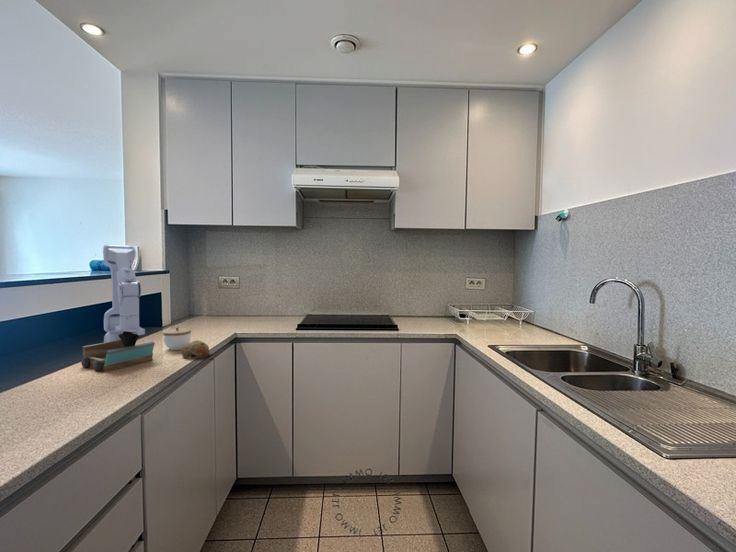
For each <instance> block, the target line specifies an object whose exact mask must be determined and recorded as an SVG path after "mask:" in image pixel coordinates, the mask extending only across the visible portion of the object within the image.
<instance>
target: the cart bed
mask: <svg viewBox="0 0 736 552" xmlns="http://www.w3.org/2000/svg"><path fill="white" fill-rule="evenodd" d="M119 348H124V345H123V342H122V340H116V341H110V342H105V343H104V342H100V343H95V344H89V345H84V346H82V358H81V361H80V362H81V363H80V364H81V366H82V368H84V369H87V368H90V369H94V370H95V372H100V371H101V372H105V373H106V372H111V371H115V370H118V369H123V368H126V367H130V366H133V365H137V364H143V363H146V362H150V361H153V356H154V353H153V352H152V355H148V356H143V357H139V358H135V359H131V360H126V361H122V362H118V363H114V364H110V365H105V364H104V363H105V359H106V354H107V351H109V350H114V349H119Z"/></svg>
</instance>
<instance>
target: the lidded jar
mask: <svg viewBox="0 0 736 552" xmlns="http://www.w3.org/2000/svg"><path fill="white" fill-rule="evenodd" d="M162 335H163V336H162V337H163V343H164V345H165V347H166V348H168V349H169V350H170V351H178V350H180V351H181V350H182V349H183V347H184V346H185V345H186V344H188V343H190V342H191V337H192V336H191V335H192V329H191V328H185V327H184V328H182V327H181V328H179V326H176V327H175V328H170V329H167V330H163V331H162Z"/></svg>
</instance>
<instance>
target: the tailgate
mask: <svg viewBox="0 0 736 552" xmlns="http://www.w3.org/2000/svg"><path fill="white" fill-rule="evenodd" d="M154 348H155V342H154V341H149V342H145V343H140V344H135V345H134V346H129V347H124V348H119V349H114V350H109V351H107V354H106V359H105V363H104V364H105V365H110V364H114V363H118V362H122V361H126V360H131V359H135V358H139V357H143V356H148V355H152V352H153V351H154Z"/></svg>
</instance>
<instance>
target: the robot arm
mask: <svg viewBox="0 0 736 552" xmlns="http://www.w3.org/2000/svg"><path fill="white" fill-rule="evenodd" d="M102 249H103V250H102V254H103V263H104V266H105V267H108V268H109V270H110V273H111V274H110V275H111V302H112V307H111V308H109V309H108V310H106V312H105V313H104V315H103V329H104V330H103V331H105V332H106V333H105V334H104V336H103V343H105V342H110V341H116V340H122V342H123V345H124V347H129V346H134V345H137V344H136V343H137V341H138V339H139V337H140V336H143V335H145V334H146V328H142V327H141V326H140V298H141V294H142V285H141V283H140V281H139V280H137V276H136V272H135V270H134V269H132V268H131V266H132V265H133V263H134V260H135V257H136V252H135V251H136V250H135V246H133V245H119V244H118V245H117V244H115V245H114V244H105V245H103V248H102Z"/></svg>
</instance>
